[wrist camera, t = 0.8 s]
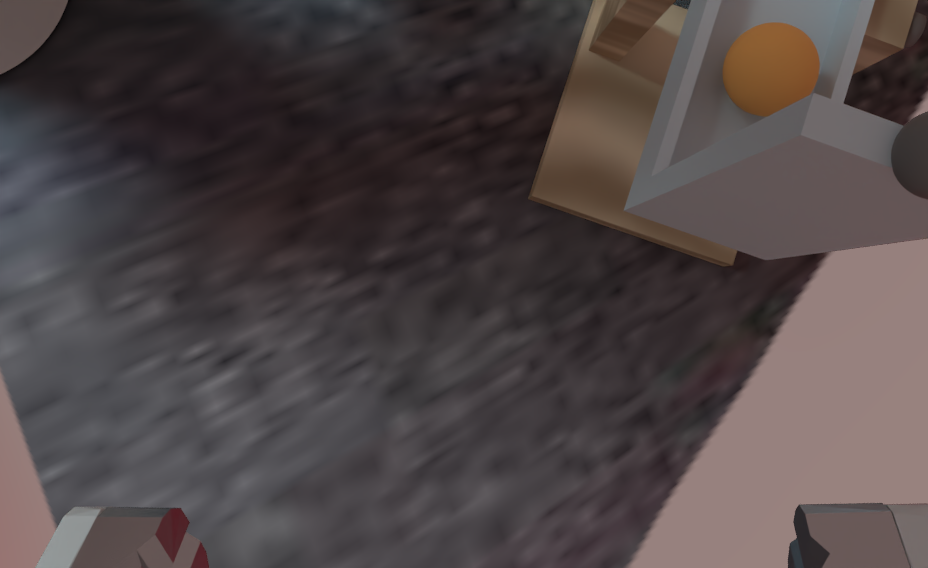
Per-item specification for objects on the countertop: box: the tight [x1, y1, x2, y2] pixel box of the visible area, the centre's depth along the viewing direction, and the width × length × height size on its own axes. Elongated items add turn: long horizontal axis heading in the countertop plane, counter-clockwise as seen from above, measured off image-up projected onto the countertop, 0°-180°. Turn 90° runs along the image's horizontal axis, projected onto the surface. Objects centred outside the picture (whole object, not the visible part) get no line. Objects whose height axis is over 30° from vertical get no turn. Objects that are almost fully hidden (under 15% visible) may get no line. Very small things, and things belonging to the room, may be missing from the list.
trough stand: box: [528, 0, 927, 267], centre depth 46 cm, size 14×14×15 cm
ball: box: [722, 22, 820, 117], centre depth 37 cm, size 4×4×4 cm
